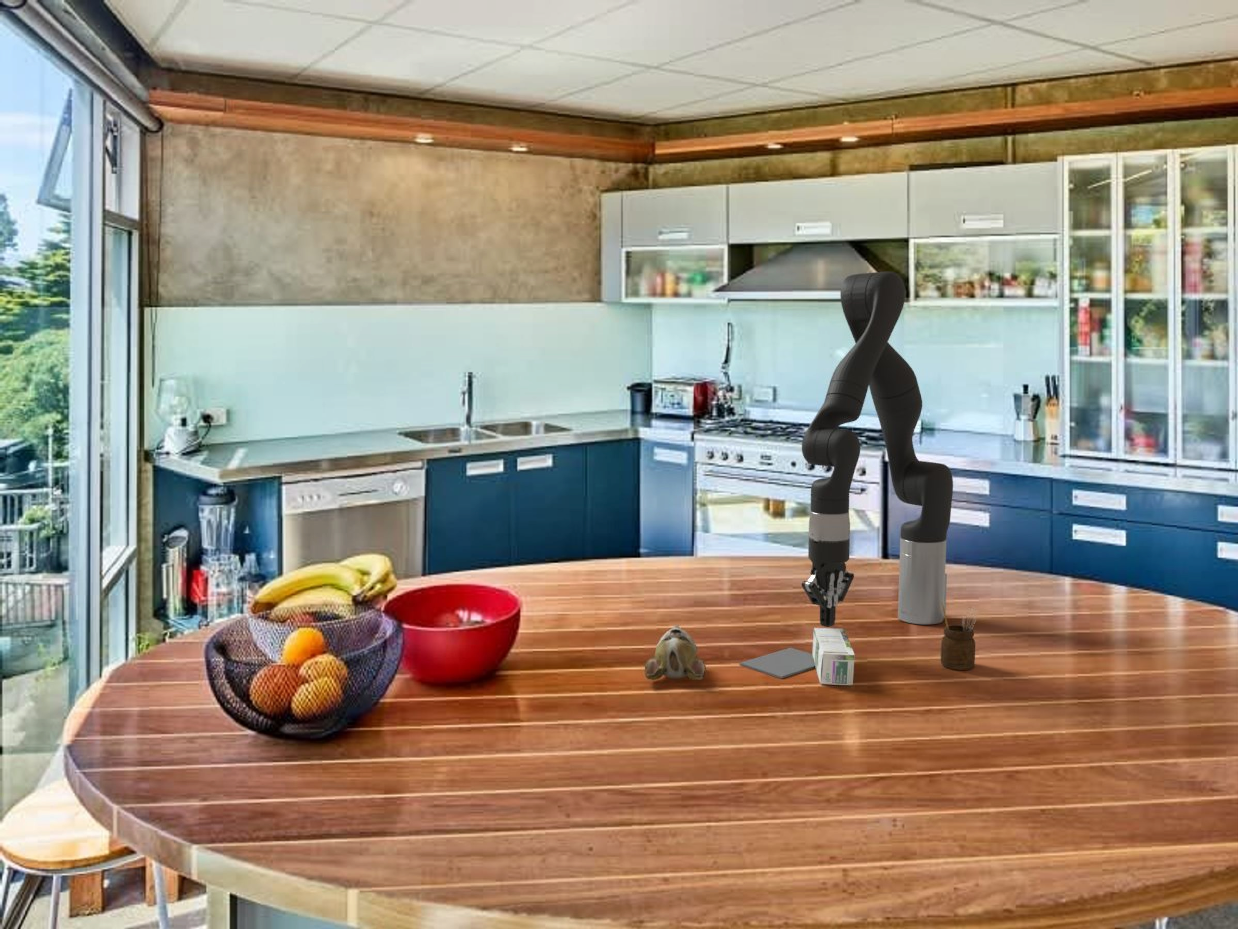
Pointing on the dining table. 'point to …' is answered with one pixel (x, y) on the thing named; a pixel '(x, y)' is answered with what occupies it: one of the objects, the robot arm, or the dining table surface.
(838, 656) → the syrup box
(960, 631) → the utensil holder
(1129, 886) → the dining table surface
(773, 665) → the mat
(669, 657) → the ceramic sculpture
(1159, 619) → the dining table surface
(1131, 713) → the dining table surface
